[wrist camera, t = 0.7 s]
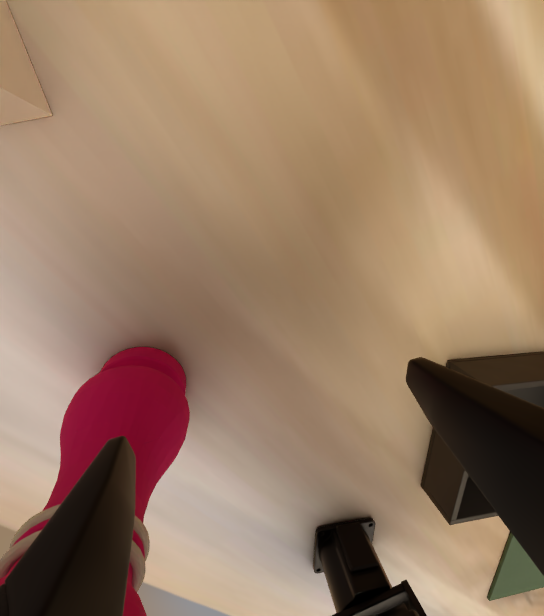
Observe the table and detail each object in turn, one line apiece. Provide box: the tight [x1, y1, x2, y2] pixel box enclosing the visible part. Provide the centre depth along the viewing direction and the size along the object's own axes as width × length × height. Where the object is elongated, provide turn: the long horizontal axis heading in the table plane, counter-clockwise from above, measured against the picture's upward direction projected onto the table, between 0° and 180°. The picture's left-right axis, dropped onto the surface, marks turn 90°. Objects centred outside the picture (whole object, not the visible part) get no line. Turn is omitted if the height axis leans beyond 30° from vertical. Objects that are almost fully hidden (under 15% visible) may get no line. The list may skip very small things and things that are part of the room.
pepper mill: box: [0, 347, 190, 616], centre depth 15 cm, size 7×7×20 cm
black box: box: [421, 352, 544, 525], centre depth 30 cm, size 15×13×4 cm
